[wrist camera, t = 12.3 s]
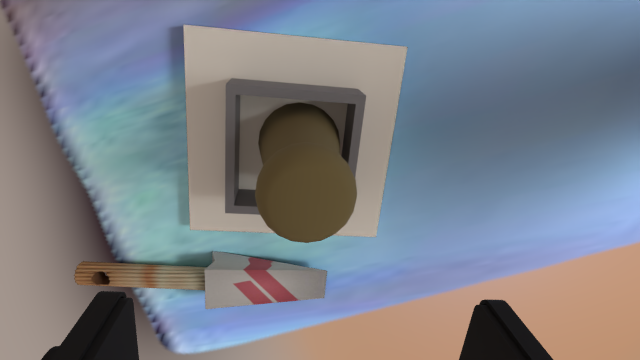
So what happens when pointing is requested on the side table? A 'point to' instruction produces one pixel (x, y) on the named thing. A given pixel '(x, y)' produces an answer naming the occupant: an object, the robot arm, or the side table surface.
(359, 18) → the side table surface
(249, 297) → the paintbrush
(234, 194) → the beige square socket base
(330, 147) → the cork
